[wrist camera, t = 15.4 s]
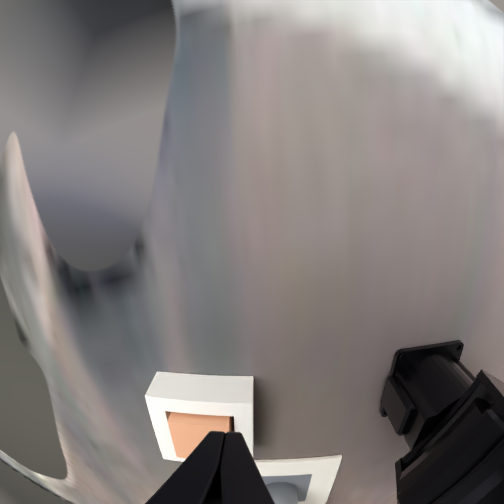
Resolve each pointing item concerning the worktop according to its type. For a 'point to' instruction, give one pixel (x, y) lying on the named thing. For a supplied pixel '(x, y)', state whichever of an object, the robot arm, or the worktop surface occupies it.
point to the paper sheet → (303, 475)
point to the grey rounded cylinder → (283, 493)
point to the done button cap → (194, 430)
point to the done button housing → (200, 403)
